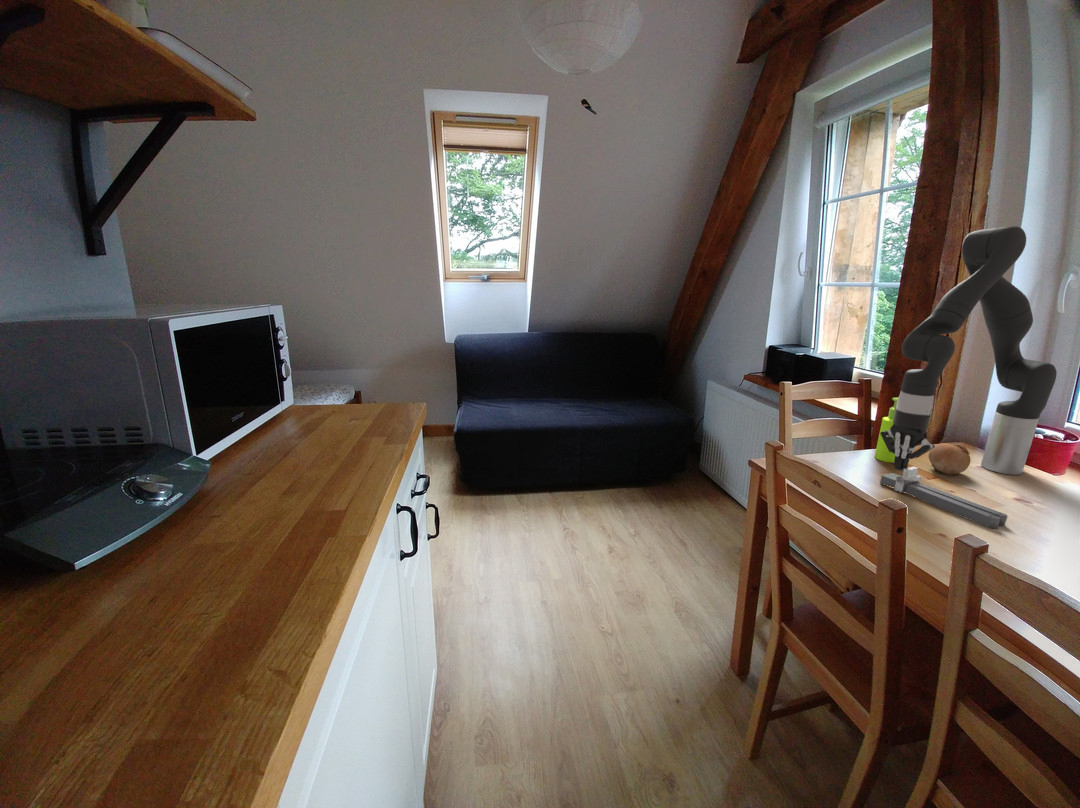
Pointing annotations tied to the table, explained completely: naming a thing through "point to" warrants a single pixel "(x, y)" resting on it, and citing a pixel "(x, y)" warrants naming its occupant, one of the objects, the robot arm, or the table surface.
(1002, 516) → the bar
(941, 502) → the base
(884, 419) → the soap dispenser
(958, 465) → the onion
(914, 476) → the rail slider block
